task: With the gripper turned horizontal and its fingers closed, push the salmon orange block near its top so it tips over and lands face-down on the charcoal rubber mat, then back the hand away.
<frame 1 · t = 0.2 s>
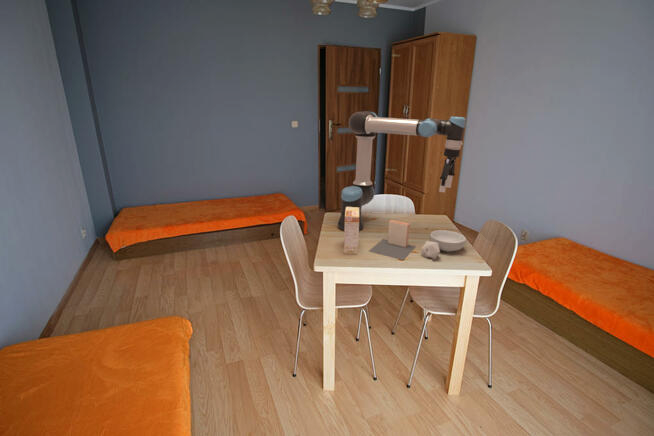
hand: (445, 189, 182), 27 cm above the table, tool pointing down, fingers open, 13 cm apart
salmon orange block: (397, 244, 178), point 1 cm above the table, touching mat
coffeecake box: (350, 248, 176), on the table
mat: (392, 250, 173), on the table
die: (429, 257, 166), on the table
cereal bowl: (446, 249, 177), on the table
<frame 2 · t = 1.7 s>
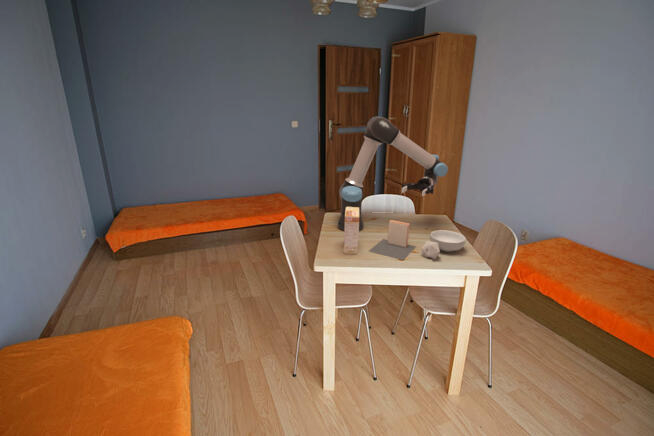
hand: (412, 192, 184), 25 cm above the table, tool horizontal, fingers open, 10 cm apart
nothing on the table moved.
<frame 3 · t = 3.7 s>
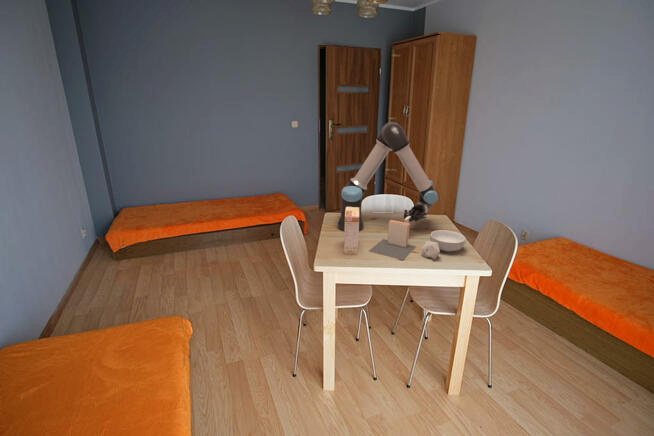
hand: (405, 221, 182), 11 cm above the table, tool horizontal, fingers closed
nothing on the table moved.
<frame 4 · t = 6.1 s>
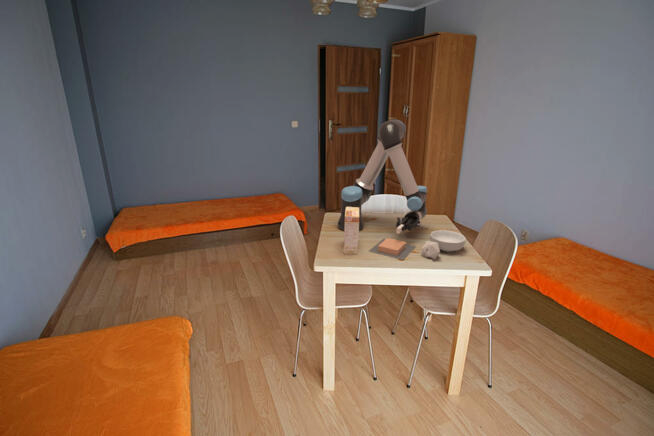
hand: (397, 231, 172), 10 cm above the table, tool horizontal, fingers closed
salmon orange block: (396, 242, 176), point 2 cm above the table, tilted 90°, touching mat
everything else where it was.
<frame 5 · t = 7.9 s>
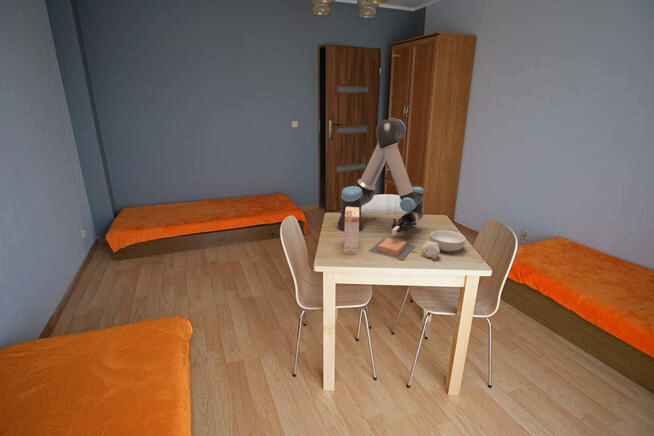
hand: (393, 232, 169), 10 cm above the table, tool horizontal, fingers closed
nothing on the table moved.
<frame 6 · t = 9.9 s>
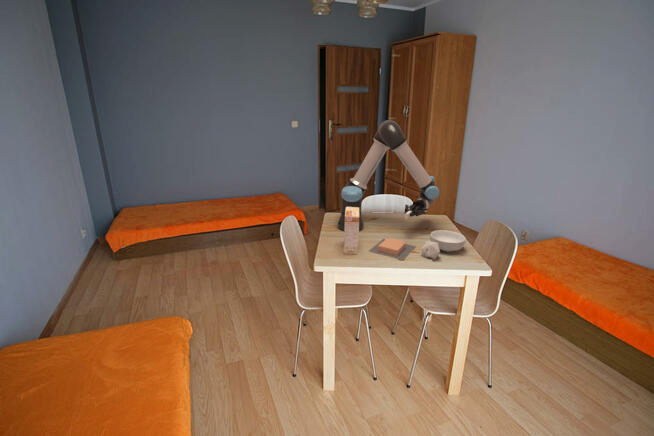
hand: (406, 216, 181), 14 cm above the table, tool horizontal, fingers closed
nothing on the table moved.
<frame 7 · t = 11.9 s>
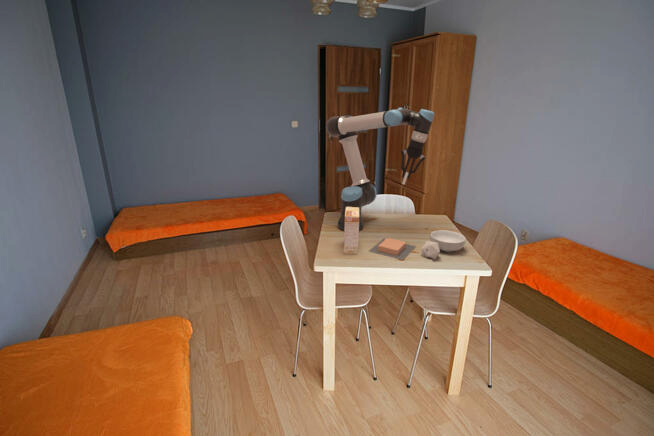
hand: (403, 183, 187), 28 cm above the table, tool pointing down, fingers closed
nothing on the table moved.
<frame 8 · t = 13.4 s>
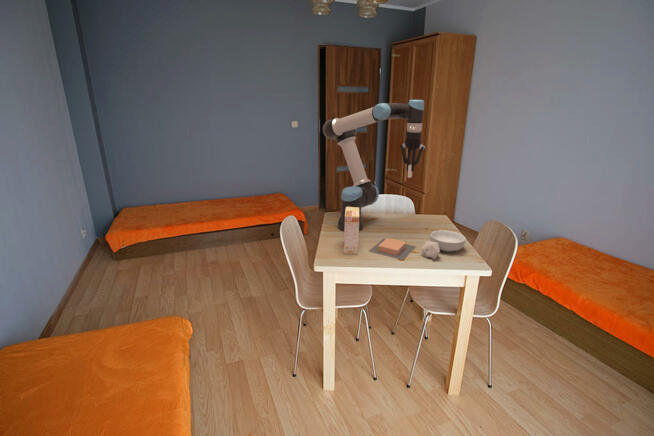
hand: (409, 177, 185), 32 cm above the table, tool pointing down, fingers closed
nothing on the table moved.
at the end: salmon orange block tilted 90°; salmon orange block touching mat; salmon orange block inside the target area (0.5 cm from its centre), point 2.5 cm above the table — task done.
